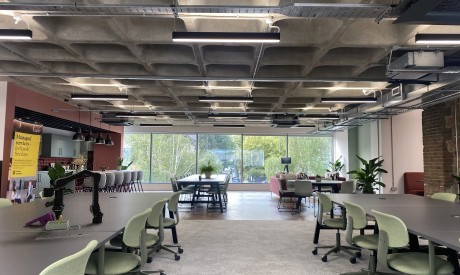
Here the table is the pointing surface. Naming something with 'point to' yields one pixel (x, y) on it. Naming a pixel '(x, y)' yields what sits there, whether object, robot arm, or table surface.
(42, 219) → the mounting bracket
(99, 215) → the robot arm
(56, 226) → the bin
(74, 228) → the socket block
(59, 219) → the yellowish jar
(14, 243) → the table surface
